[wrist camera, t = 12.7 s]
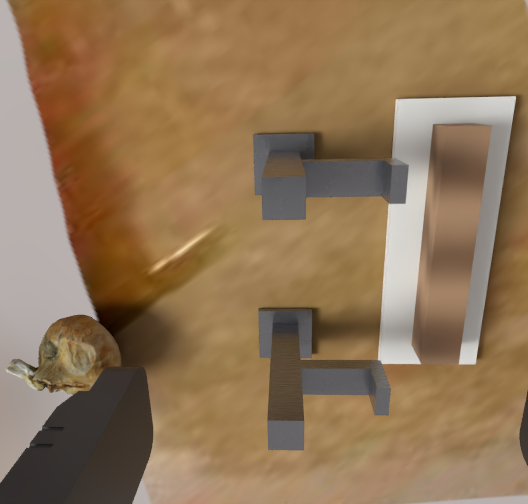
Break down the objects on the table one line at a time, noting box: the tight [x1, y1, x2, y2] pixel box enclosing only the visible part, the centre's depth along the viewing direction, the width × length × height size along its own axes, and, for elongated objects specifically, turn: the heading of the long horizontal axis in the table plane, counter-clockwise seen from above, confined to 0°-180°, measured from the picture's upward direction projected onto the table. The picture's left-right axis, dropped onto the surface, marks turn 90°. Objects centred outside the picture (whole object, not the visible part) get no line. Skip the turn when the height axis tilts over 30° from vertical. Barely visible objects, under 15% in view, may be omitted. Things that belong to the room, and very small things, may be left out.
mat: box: [378, 96, 516, 364], centre depth 39 cm, size 24×9×1 cm, turn 1°
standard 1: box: [259, 308, 391, 450], centre depth 36 cm, size 5×10×14 cm, turn 91°
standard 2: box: [253, 133, 409, 220], centre depth 31 cm, size 5×10×14 cm, turn 91°
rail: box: [411, 123, 492, 364], centre depth 37 cm, size 20×3×3 cm, turn 1°
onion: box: [6, 315, 121, 395], centre depth 40 cm, size 8×8×8 cm
